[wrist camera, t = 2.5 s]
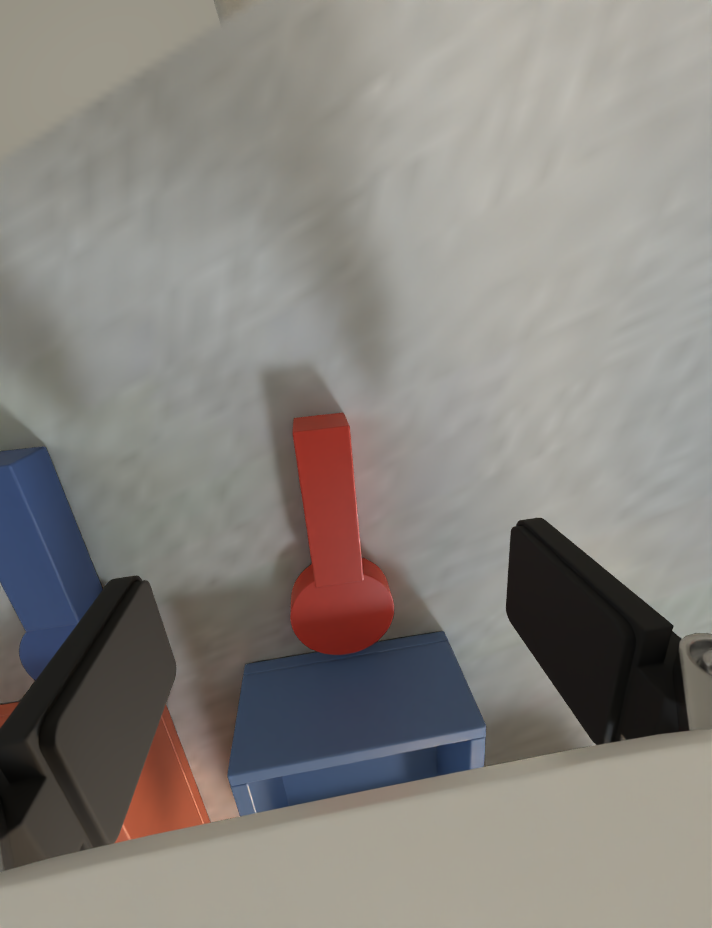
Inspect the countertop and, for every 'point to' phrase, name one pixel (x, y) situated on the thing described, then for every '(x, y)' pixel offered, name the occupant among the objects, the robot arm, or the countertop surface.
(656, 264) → the countertop surface
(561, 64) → the countertop surface
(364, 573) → the red spoon
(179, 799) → the terracotta bin
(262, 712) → the blue bin
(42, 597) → the blue spoon
